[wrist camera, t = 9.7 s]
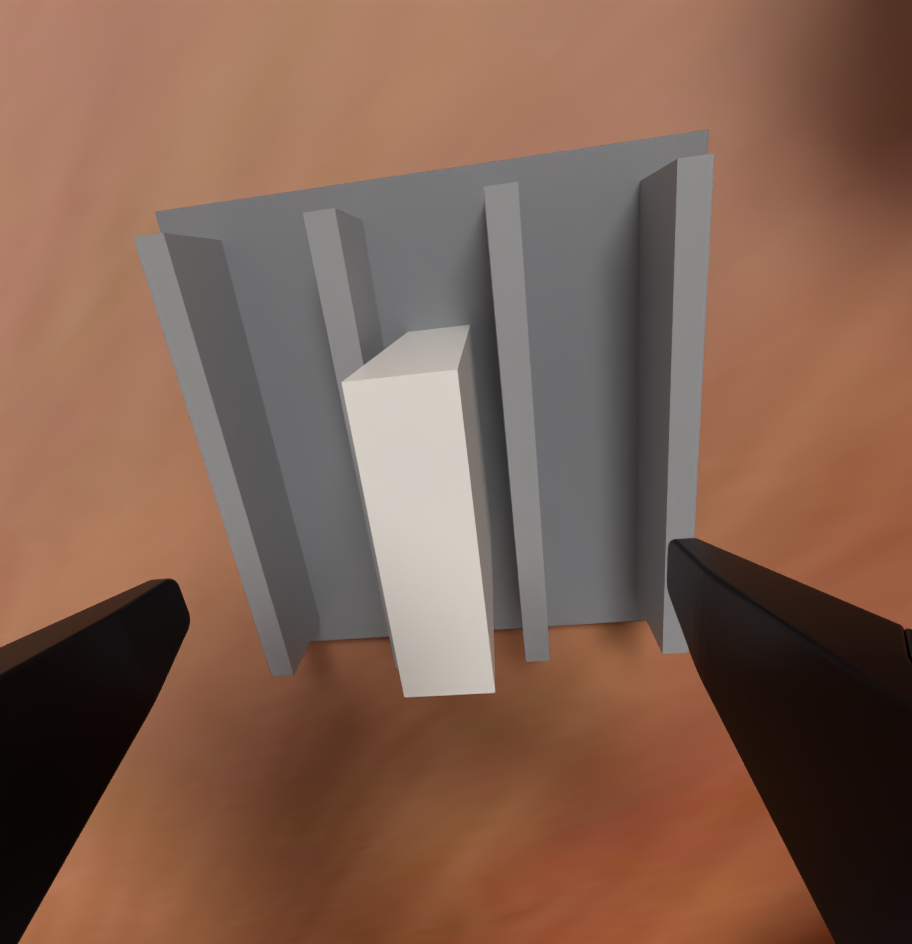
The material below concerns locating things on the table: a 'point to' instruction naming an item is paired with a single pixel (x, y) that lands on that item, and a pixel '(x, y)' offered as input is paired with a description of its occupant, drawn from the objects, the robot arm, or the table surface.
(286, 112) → the table surface
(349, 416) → the white slab
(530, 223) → the dish rack
